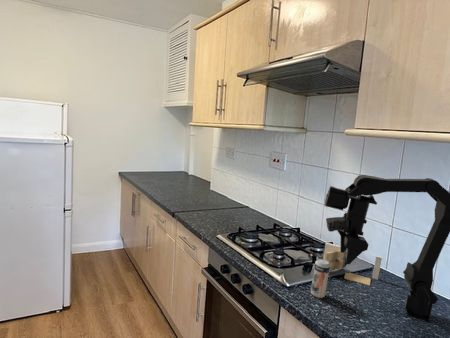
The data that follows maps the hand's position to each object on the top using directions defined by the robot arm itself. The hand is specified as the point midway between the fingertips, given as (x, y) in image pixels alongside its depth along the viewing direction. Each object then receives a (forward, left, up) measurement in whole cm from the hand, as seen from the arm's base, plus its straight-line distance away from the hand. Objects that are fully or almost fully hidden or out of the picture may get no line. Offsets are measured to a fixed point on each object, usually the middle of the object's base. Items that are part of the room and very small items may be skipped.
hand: (344, 257), depth 104 cm
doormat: (-5, -18, -14) cm, 23 cm away
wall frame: (-1, -23, -14) cm, 27 cm away
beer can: (+6, +3, -14) cm, 16 cm away
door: (+4, -18, -13) cm, 23 cm away
